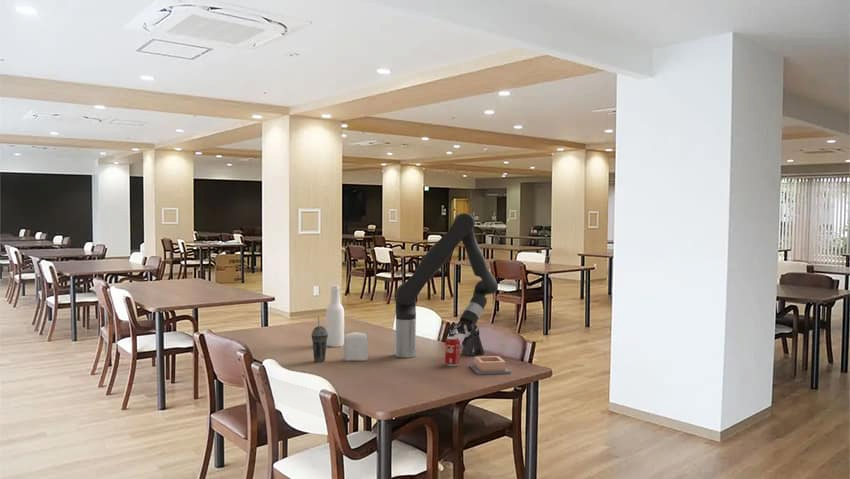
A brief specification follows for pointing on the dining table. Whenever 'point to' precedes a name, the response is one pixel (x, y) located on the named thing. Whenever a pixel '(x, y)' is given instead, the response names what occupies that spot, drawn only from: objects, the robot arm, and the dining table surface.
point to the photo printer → (356, 346)
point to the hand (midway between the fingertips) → (455, 343)
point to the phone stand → (473, 343)
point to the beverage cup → (319, 343)
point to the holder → (490, 365)
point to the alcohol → (335, 319)
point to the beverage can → (452, 351)
